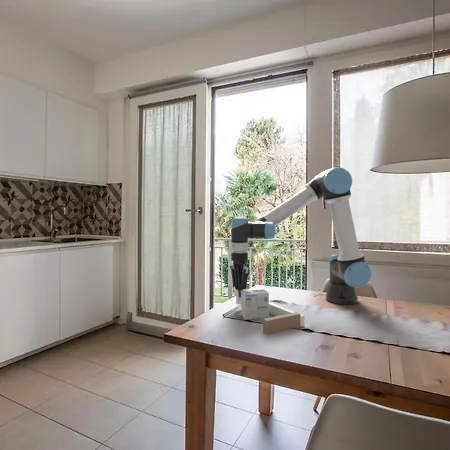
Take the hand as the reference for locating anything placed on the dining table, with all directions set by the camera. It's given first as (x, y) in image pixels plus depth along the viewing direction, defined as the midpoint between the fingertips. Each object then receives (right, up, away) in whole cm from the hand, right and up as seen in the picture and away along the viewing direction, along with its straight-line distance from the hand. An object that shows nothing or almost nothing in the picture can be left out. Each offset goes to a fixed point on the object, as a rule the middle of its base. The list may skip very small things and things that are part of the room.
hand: (239, 303), depth 149 cm
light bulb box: (+6, -3, -10) cm, 12 cm away
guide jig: (+10, -3, -16) cm, 19 cm away
